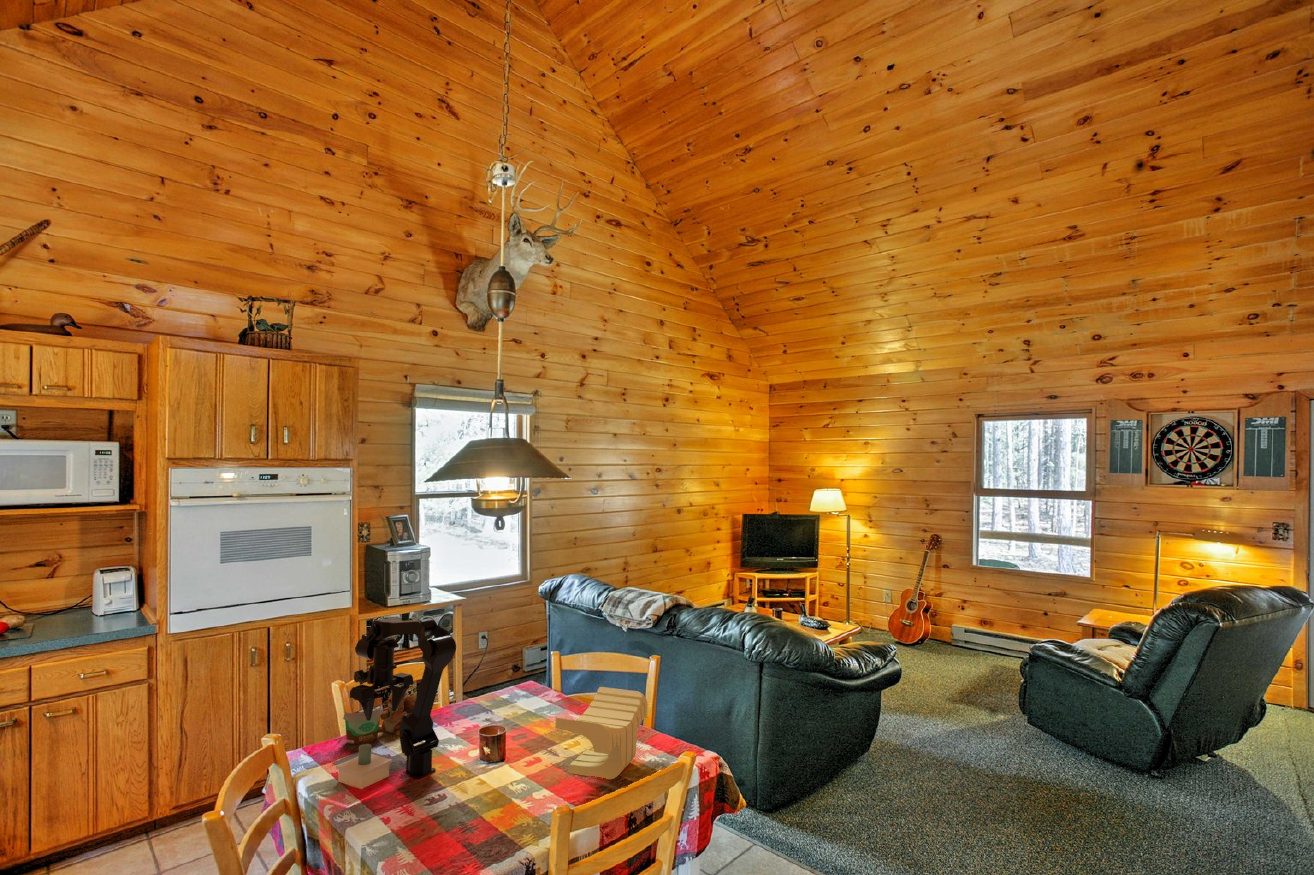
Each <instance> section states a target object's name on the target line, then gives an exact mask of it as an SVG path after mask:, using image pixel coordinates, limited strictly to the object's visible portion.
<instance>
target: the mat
mask: <svg viewBox="0 0 1314 875" xmlns="http://www.w3.org/2000/svg"><path fill="white" fill-rule="evenodd" d="M358 754H359V751H357V752H355V753H352V754H350V755H347V756H345V757H343V758H340V759H337V760H335V761H333V762H331V764H333V765H335V766H336V765H339V764H341V763H344V762H346V761H348V760H351V759H353V758H356V757H358ZM371 754H374V755H377V756H381V757H384V758H388V759H390V756H387V755H383V754H380V753H377V752H374V751H371Z"/></svg>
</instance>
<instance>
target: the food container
mask: <svg viewBox="0 0 1314 875" xmlns="http://www.w3.org/2000/svg"><path fill="white" fill-rule="evenodd" d="M383 709H384V708H383V704H381V703H380V702H378V705H377V706H373V711H372V716H371V720H370V721H368V720H367V719H366V717H365V714H364V711H363V708H362V709H359V710H357V711H353V712H346V711H344V714H343V718H342V720H345V739H346V744H352V745H363V744H369V743H371V742H373V741H375V740H376V739H377V738H378V736H379V732H378V731H379V727H380V722H381V717H380V715H381V714H382V713H383V712H384V710H383Z"/></svg>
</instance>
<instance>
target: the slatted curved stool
mask: <svg viewBox="0 0 1314 875" xmlns="http://www.w3.org/2000/svg"><path fill="white" fill-rule="evenodd" d="M596 692H597V693H596V694H595V695H594V697H593V701H591V702H590V704H589V707H587V709H585V711H584V712H583V713H582V714H581V715H580V716H579V717H577V718H576V719H570V718H569V719H567V718H560V717H555V726H554V727H555V729H558V730H562V731H563V730H564V731H567V732H572V733H575V734H578V735H581V736H583V737H584V738H586V739H587V740H588V741H589V742H590V743H591V745H592V748H593V750H588V749H586V750H584V751H583V752H582V753H581V754H580V755H579V756H577V758H575V759H574V760H572V762H571V763H569V766H568V770H567V773H569V774H573V775H574V774H575V775H581V776H584V777H585V776H586V777H591V776H595V777H594V778H597V777H602V778H601V779H603V778H606V779H605V780H614V779H616V778H617V777H618V776H619V775H620V774H621V773H622V772H623V771H624V770H625V769H626V767H627V766H629V764H631V762H633V760H634V759H635V757H636V753H637V741H638V733H639V732H638V729H639V728H640V726H641V723H642V721H644V720H645V719H646V718H648V700H647V698H646V696H645V695H644V694H643V693H642V692H640V691H637V690H630V689H622V688H621V689H620V688H614V687H613V688H612V687H608V686H607V687H606V686H605V687H604V686H599V687H598V689H597V691H596ZM596 776H597V777H596Z"/></svg>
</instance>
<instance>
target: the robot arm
mask: <svg viewBox="0 0 1314 875" xmlns="http://www.w3.org/2000/svg"><path fill="white" fill-rule="evenodd" d="M426 634H430V635H431V636H432V637H434V638H430V639H428V638H427V637H426ZM403 635H404V636H405V635H416V637H417V646H418V648H419V649H420V651H421V652H422V655H421V658H422V660H423V664H424V669H423V673H422V676H421V680H420V684H419V688H418V691H417V694H416V697H417V698H416V701H415V705H414V708H413V711H412V713H410V714H406V715H404V716H403V718H402V723H401V726H400V727H399V729H401V730H400V735H398V736H399V743H400V747H401V748H400V749H401V753H402V754H403V755H404V756H405V757H406V764H405V765H406V766H405V768H406V770H404V771H402V774H404V775H408V777H411V778H414V779H418V780H419V779H421V778H422V779H423V778H424V777H425V776H427V775H430V774H432V773H434V772H435V771H436V770H437V769H436V768H435V767H432V765H433V763H432V762H433V749H434V748H438V746H439V743H440V739H439V738H438V736H437V733H436V732H435V729H434V721H433V718H432V716H431V714H432V710H433V707H434V704H435V699H436V697H437V692H438V690H439V685H440V682H441V679H442V675H443V672H444V670H445V668H446V667H447V666H448V665H449V664H450V663H451V662H452V660H453V658H454V657H455V656H454V655H455V653H456V650H457V643H456V640H455V639H454V638H453V636H452V635H451V634H450V632H449V630H447V629H445V628H444V627H442V626H440V625H439V624H438V623H437V622H436V621H435V619H433V618H425V619H424V618H423V619H414V620H412V619H411V620H401V619H400V618H398V617H389V618H388V617H387V618H383V619H377V620H373V622H372V624H371V626H369V629H368V631H367V633H364V634H361V638H360V639H359V640H358V642H357V643H355V644H356V645H355V648H354V651H355V653H356V655H357V656H358V657H361V658H364V659H368V660H372V662H373V663H372V665H370V666H369V667H368V671H367V670H366V671H364V670H363V669H360V670H356V671H353V672H354V673H353V680H354V683H359V685H355V686H353V687H351V688H350V690H349V698H350V699H353V700H354V701H358V703H360V705H361V708H362V709H363V711H364V714H365V717H366V719H367V720H368V721H370V720H371V716H372V711H373V707H375V706H374V705H375V701H376V698H375V697H374V696H375V695H376V694H375V692H378V691H382V690H385V689H387V688H390V692H391V691H392V711H396V709H397V708H398V706H399V704H400V702H401V700H402V698H403V696H404V694H405V693H406V692H408V690H409V689H410V688H411V685H412V686H413V684H414V677H413V676H412V674H410V673H405V672H398V673H395V674H394V670H395V669H397V666H398V665H397V664H395V648H399V647H400V646H399V643H398V642H397V641H396V640H395V639H394V637H397V636H398V637H399V636H403ZM365 683H367V685H366V684H365Z"/></svg>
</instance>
